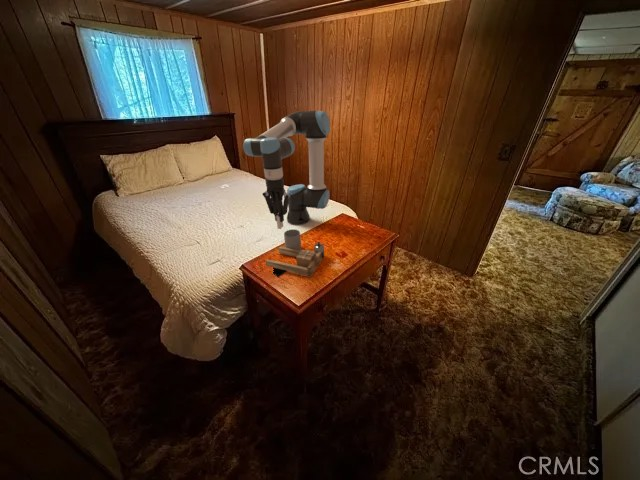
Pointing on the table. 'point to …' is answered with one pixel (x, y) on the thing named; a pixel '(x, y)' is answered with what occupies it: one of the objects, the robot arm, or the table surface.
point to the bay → (294, 268)
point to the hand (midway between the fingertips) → (280, 227)
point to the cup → (292, 239)
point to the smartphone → (278, 272)
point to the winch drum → (319, 248)
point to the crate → (305, 258)
